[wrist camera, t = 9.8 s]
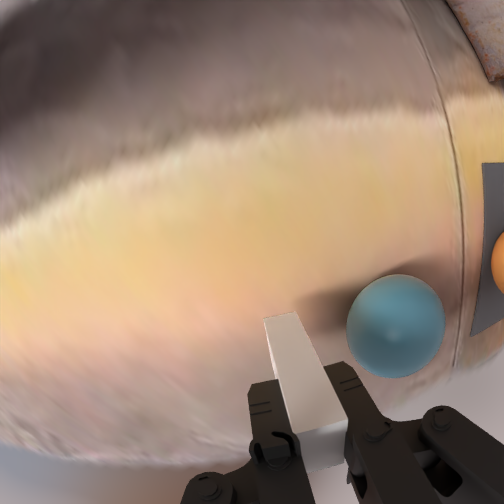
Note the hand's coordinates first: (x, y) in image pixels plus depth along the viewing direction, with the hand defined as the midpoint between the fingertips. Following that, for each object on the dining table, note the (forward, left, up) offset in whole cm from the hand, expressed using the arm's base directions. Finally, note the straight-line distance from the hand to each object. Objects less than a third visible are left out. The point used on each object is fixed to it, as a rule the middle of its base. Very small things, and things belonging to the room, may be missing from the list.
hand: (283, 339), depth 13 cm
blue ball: (+6, -1, 0) cm, 6 cm away
